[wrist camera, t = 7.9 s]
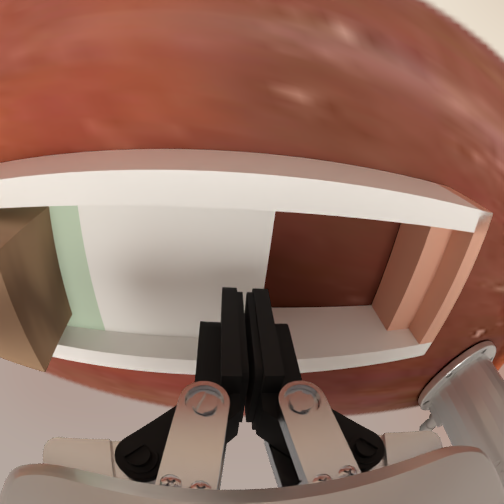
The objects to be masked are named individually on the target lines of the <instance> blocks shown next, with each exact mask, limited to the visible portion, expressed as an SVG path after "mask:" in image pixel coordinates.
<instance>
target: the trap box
mask: <svg viewBox="0 0 504 504" xmlns="http://www.w3.org/2000/svg"><path fill="white" fill-rule="evenodd" d="M40 206H49V211H50V218H51V225H52V231H53V237H54V242H55V248H56V253H57V257H58V262H59V267H60V271H61V275H62V279H63V283H64V287H65V291H66V294H67V298H68V301H69V305H70V308H71V311H72V316H71V318H70V320H69V322H68V324H67V326H66V328H65V330H64V332H63V334H62V336H61V338H60V340H59V343H58V345H57V347H56V349H55V351H54V353H53V356H52V357H57V358H61V359H66V360H71V361H77V362H82V363H88V364H94V365H100V366H107V367H114V368H122V369H130V370H139V371H149V372H161V373H174V374H193V375H195V374H196V362H197V350H198V338H199V328H200V321H205V322H221V301H222V287H232V288H237V292H243V304H244V312H245V302H246V294H247V292H252V289H253V288H258V289H264V285H265V278H266V272H267V265H268V258H269V252H270V245H271V238H272V231H273V225H274V218H275V211H281V212H295V213H308V214H320V215H331V216H342V217H353V218H363V219H372V220H382V221H391V222H399V223H401V225H400V228H399V231H398V234H397V237H396V240H395V243H394V246H393V249H392V252H391V255H390V258H389V261H388V264H387V266H386V269H385V272H384V275H383V277H382V280H381V282H380V285H379V288H378V290H377V293H376V295H375V298H374V300H373V302H372V305H366V306H342V307H297V308H272V312H273V317H274V322H275V324H288V326H289V329H290V333H291V337H292V342H293V346H294V350H295V354H296V358H297V362H298V366H299V370H300V373H306V372H317V371H328V370H337V369H345V368H353V367H360V366H367V365H373V364H380V363H386V362H391V361H397V360H402V359H407V358H412V357H417V356H421V355H424V354H425V353H426V351H427V350H428V348H429V346H430V345H431V343H432V342H433V340H434V339H435V337H436V335H437V334H438V332H439V330H440V329H441V327H442V325H443V324H444V322H445V320H446V318H447V317H448V315H449V313H450V311H451V309H452V308H453V306H454V304H455V302H456V300H457V298H458V296H459V294H460V292H461V290H462V288H463V286H464V284H465V282H466V280H467V278H468V276H469V274H470V271H471V269H472V267H473V265H474V262H475V260H476V258H477V255H478V253H479V251H480V248H481V246H482V243H483V240H484V238H485V235H486V232H487V230H488V227H489V224H490V221H491V218H492V215H493V213H492V212H490V211H489V210H487V209H485V208H484V207H482V206H481V205H479V204H477V203H476V202H474V201H472V200H471V199H469V198H467V197H466V196H464V195H462V194H461V193H459V192H457V191H455V190H454V189H452V188H450V187H448V186H445V185H441V184H437V183H433V182H429V181H425V180H421V179H417V178H413V177H409V176H404V175H400V174H395V173H391V172H386V171H381V170H376V169H371V168H366V167H360V166H354V165H349V164H343V163H336V162H330V161H323V160H316V159H309V158H301V157H292V156H284V155H274V154H263V153H252V152H238V151H222V150H198V149H128V150H106V151H90V152H78V153H67V154H57V155H49V156H41V157H33V158H26V159H20V160H14V161H8V162H2V163H0V208H16V207H40Z"/></svg>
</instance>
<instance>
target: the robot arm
mask: <svg viewBox="0 0 504 504" xmlns="http://www.w3.org/2000/svg"><path fill="white" fill-rule="evenodd" d="M495 353H496V347H495V346H494V344H493V343H492V342H491V341H484V342H481V343H479V344H477V345H475V346H473V347H471V348H470V349H468V350H467V351H465V352H464V353H462V354H461V355H460V356H458V357H457V358H456V359H454V360H453V361H452V362H451V363H450V364H448V365H447V366H446V367H445V368H444V369H443V370H442V371H440V372H439V373H438V374H437V375H436V376H435V377H434V378H433V379H432V380H431V381H430V383H429V384H428V385H427V386H426V387H425V388H424V390H423V391H422V393H421V395H420V396H419V399H418V403H419V405H420V407H421V409H423V410H430V412H431V414H430V417H429V419H427V420H426V421H425V422H424V423H423V424H422V425H421V426H420V431H415V432H399V433H384V434H383V435H377V434H376V433H374V432H372V431H370V430H369V429H367V428H365V427H363V426H361V425H359V424H357V423H356V422H354V421H352V420H350V419H348V418H347V417H345V416H343V415H341V414H340V413H338V412H336V411H335V410H333V409H331V407H330V405H329V403H328V401H327V399H326V397H325V395H324V393H323V392H322V390H321V389H320V388H319V387H317V386H316V385H315V384H313V383H310V382H307V381H302V378H301V374H300V370H299V366H298V362H297V358H296V354H295V350H294V346H293V342H292V337H291V333H290V329H289V326H288V324H275V322H274V317H273V312H272V307H271V302H270V297H269V292H268V289H258V288H253V289H252V292H247V294H246V302H245V312H244V304H243V292H237V288H232V287H222V301H221V322H205V321H200V328H199V338H198V350H197V362H196V374H195V382H194V383H192V384H190V385H188V386H186V387H185V388H184V389H183V390H182V392H181V394H180V397H179V400H178V403H177V405H176V406H175V407H173V408H172V409H170V410H169V411H167V412H166V413H164V414H163V415H161V416H160V417H158V418H157V419H155V420H154V421H152V422H150V423H149V424H147V425H146V426H144V427H142V428H141V429H139V430H137V431H136V432H134V433H133V434H131V435H129V436H128V437H126V438H124V439H123V440H122V441H111V440H110V439H80V438H64V437H56V438H52V439H50V440H48V441H47V443H46V444H45V445H44V449H43V464H28V465H22V466H19V467H17V468H15V469H14V470H13V471H11V472H10V474H9V475H8V477H7V479H6V481H5V483H4V485H3V488H2V491H1V494H0V504H504V380H503V378H502V377H501V375H500V374H499V372H498V371H497V369H496V368H495V366H494V365H493V363H492V360H493V358H494V356H495ZM244 406H245V414H246V422H252V429H253V430H256V434H257V435H258V436H260V437H261V438H262V439H264V442H265V447H266V451H267V454H268V457H269V460H270V464H271V467H272V470H273V473H274V476H275V479H276V483H277V486H278V488H268V489H250V490H220V486H221V478H222V472H223V465H224V459H225V452H226V445H227V443H228V442H229V441H230V440H232V439H233V438H234V437H235V436H236V435H237V433H238V427H239V422H242V418H243V412H244ZM442 425H443V427H444V429H445V431H446V433H447V435H448V437H449V439H450V441H451V444H452V446H449V447H444V448H443V447H442V442H441V439H440V437H439V436H438V435H437V434H436V433H434V432H432V430H433V429H434V428H435V427H436V426H437V427H440V426H442Z"/></svg>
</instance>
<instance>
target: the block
mask: <svg viewBox="0 0 504 504" xmlns="http://www.w3.org/2000/svg"><path fill="white" fill-rule="evenodd" d="M71 316H72V311H71V308H70V305H69V301H68V298H67V294H66V291H65V287H64V283H63V279H62V275H61V271H60V267H59V262H58V257H57V253H56V248H55V242H54V237H53V231H52V225H51V218H50V211H49V206H40V207H16V208H0V357H1V358H3V359H6V360H9V361H12V362H15V363H17V364H20V365H23V366H26V367H29V368H33V369H36V370H39V371H43V372H46V369H47V367H48V365H49V362H50V360H51V358H52V356H53V353H54V351H55V349H56V347H57V345H58V343H59V340H60V338H61V336H62V334H63V332H64V330H65V328H66V326H67V324H68V322H69V320H70V318H71Z"/></svg>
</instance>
